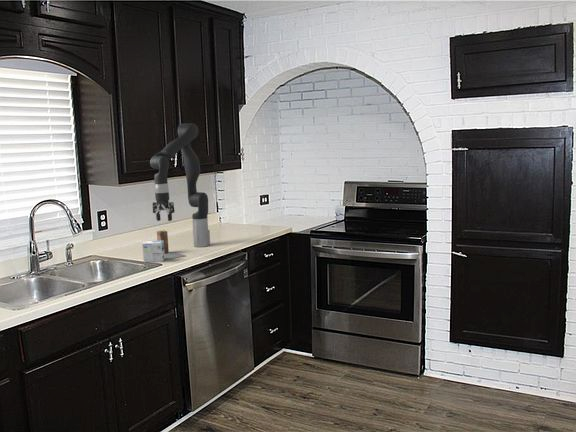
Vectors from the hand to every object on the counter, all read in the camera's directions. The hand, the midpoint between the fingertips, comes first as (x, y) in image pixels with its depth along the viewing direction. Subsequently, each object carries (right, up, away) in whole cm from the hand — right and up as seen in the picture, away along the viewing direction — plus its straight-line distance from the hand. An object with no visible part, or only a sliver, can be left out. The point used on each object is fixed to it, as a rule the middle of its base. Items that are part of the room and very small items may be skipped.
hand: (164, 220), depth 316 cm
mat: (+2, -20, +7) cm, 21 cm away
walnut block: (-4, -19, +14) cm, 24 cm away
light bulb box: (-5, -22, -4) cm, 23 cm away
